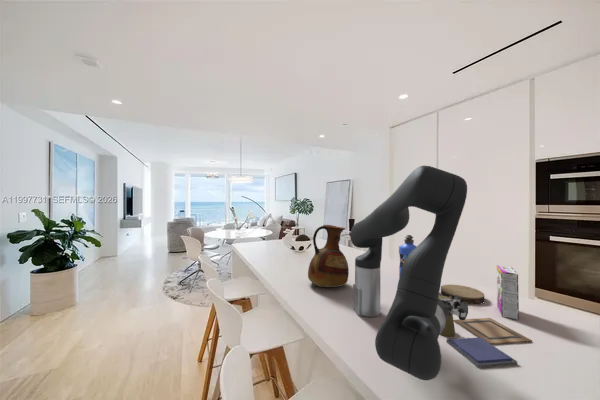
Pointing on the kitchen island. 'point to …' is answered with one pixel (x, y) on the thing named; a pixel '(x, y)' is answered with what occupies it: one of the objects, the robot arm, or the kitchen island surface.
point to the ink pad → (481, 352)
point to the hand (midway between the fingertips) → (438, 295)
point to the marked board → (492, 331)
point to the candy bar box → (507, 292)
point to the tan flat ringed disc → (463, 293)
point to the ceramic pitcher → (329, 260)
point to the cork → (448, 324)
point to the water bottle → (406, 250)
